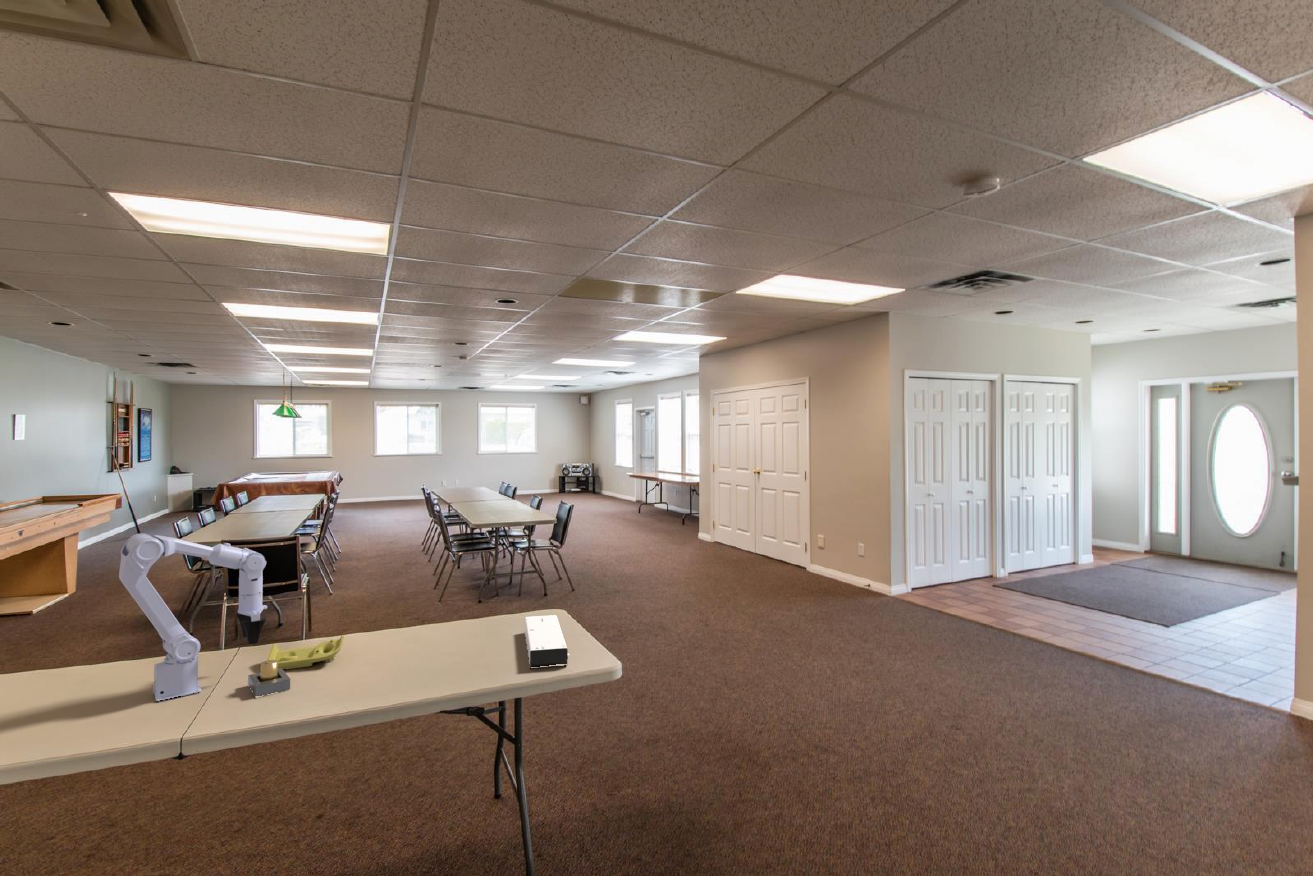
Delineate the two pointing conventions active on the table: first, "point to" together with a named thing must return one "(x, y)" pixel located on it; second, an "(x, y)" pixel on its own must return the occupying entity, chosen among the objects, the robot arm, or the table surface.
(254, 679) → the frame
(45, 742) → the table surface
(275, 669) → the gold metal cylinder
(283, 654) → the plastic component
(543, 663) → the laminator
